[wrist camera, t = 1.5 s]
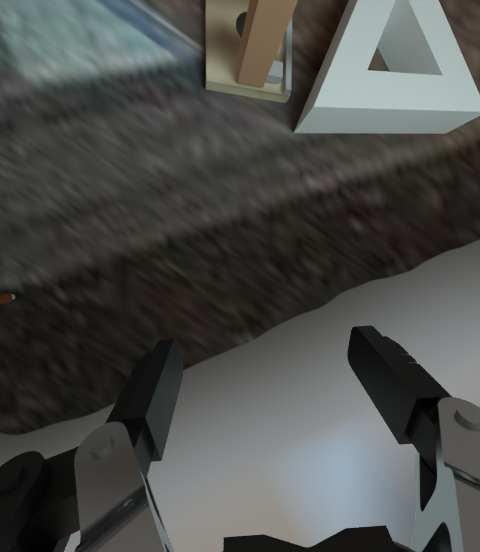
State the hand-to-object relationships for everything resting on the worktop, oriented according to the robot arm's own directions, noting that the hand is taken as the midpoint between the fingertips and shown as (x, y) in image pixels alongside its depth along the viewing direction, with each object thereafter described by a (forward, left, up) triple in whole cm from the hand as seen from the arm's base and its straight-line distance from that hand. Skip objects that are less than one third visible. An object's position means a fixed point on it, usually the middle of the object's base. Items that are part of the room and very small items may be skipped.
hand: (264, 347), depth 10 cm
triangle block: (+10, +43, -24) cm, 50 cm away
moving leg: (-10, +29, -21) cm, 37 cm away
